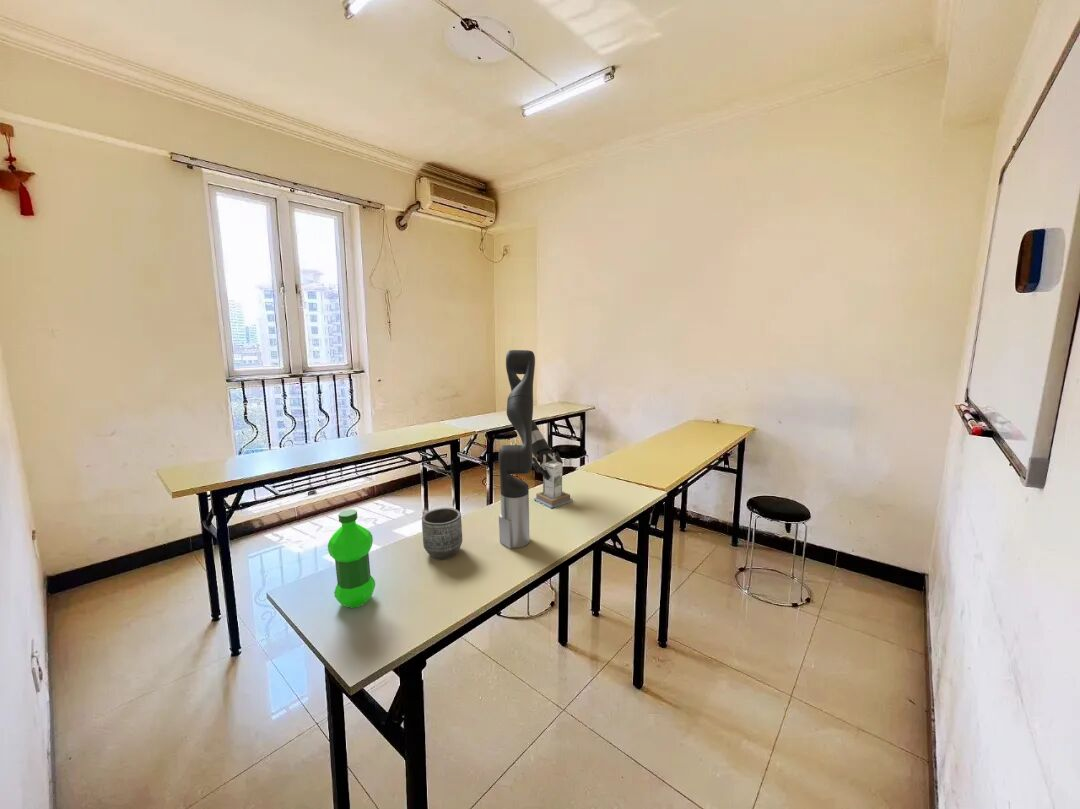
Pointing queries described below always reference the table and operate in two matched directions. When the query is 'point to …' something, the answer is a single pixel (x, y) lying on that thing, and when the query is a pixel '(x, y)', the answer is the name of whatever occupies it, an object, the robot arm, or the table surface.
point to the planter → (442, 532)
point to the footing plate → (553, 502)
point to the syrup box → (553, 480)
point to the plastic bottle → (352, 561)
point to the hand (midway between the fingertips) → (555, 477)
